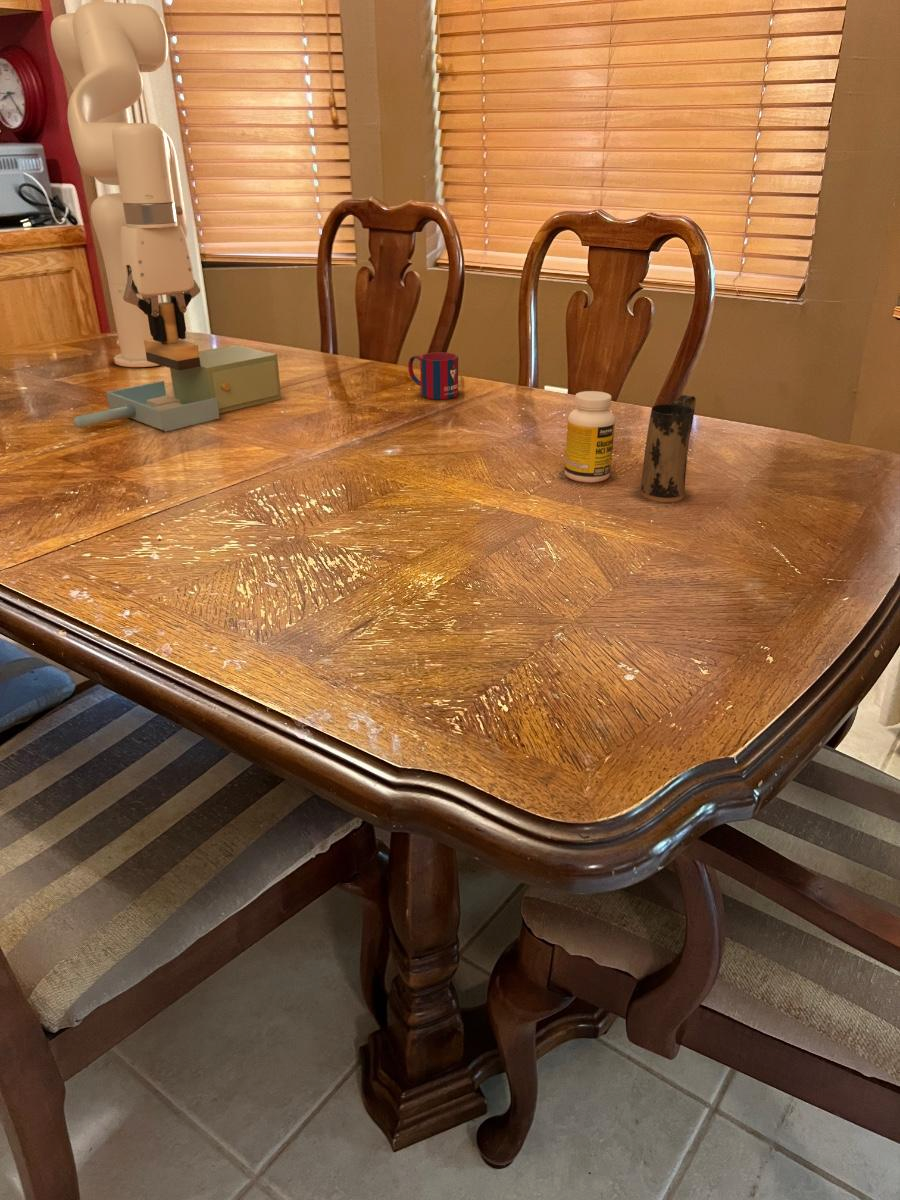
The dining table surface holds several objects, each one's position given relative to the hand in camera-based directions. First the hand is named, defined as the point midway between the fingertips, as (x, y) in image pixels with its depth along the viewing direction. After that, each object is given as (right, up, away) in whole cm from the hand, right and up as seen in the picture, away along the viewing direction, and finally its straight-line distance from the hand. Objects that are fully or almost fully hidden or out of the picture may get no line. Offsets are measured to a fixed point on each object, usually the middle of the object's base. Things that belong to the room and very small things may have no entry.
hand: (169, 338), depth 140 cm
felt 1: (-3, -9, +5) cm, 11 cm away
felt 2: (0, -11, +1) cm, 11 cm away
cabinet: (+7, -7, +12) cm, 15 cm away
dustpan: (-5, -13, 0) cm, 15 cm away
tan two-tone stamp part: (0, -4, +2) cm, 4 cm away
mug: (+74, -29, -28) cm, 84 cm away
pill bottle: (+64, -26, -23) cm, 73 cm away
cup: (+43, -5, +16) cm, 46 cm away
